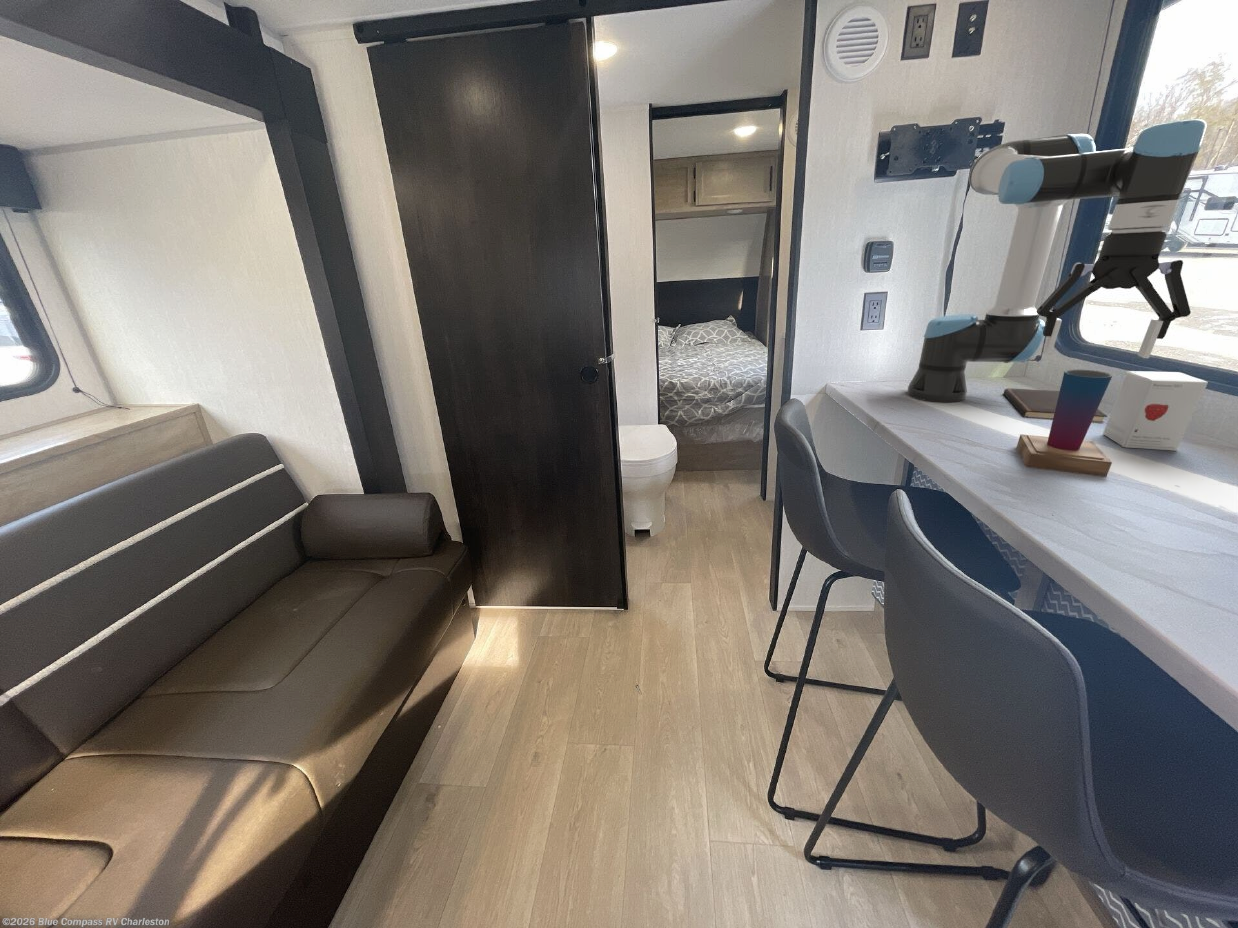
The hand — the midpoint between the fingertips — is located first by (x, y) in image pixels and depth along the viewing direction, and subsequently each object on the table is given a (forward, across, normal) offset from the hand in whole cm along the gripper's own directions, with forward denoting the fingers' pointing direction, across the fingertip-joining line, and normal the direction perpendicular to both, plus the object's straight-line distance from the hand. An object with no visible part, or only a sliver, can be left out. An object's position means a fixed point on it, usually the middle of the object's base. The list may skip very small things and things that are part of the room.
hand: (1093, 355), depth 90 cm
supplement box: (+22, +17, +17) cm, 33 cm away
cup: (+19, 0, -1) cm, 19 cm away
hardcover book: (+23, +6, +42) cm, 49 cm away
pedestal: (+22, 0, -1) cm, 22 cm away
